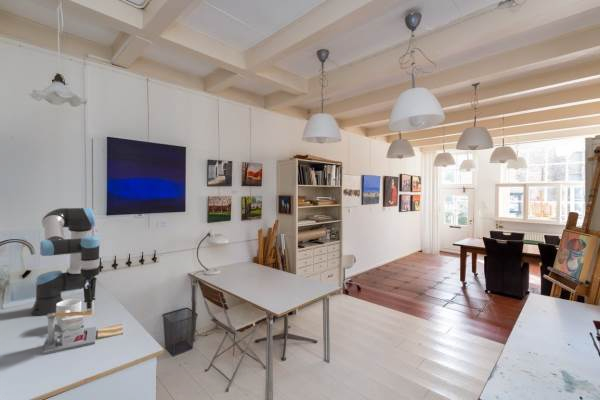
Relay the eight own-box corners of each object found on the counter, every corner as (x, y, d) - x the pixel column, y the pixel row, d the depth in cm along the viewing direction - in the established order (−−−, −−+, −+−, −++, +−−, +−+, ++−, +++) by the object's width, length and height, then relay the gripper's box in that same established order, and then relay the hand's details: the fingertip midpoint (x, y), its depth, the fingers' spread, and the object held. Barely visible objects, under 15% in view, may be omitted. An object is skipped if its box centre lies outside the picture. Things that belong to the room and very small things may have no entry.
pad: (97, 330, 153) (97, 328, 153) (121, 325, 160) (121, 324, 160) (97, 339, 144) (97, 337, 144) (122, 334, 151) (122, 332, 151)
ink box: (81, 335, 147) (81, 313, 147) (83, 339, 144) (84, 316, 144) (59, 342, 140) (60, 318, 140) (62, 345, 137) (62, 321, 137)
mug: (79, 330, 152) (79, 306, 152) (52, 335, 146) (53, 310, 146) (81, 319, 164) (82, 297, 164) (57, 323, 158) (57, 300, 158)
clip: (49, 315, 138) (49, 312, 138) (93, 312, 143) (93, 310, 143) (45, 318, 135) (45, 315, 135) (90, 315, 140) (90, 312, 140)
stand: (49, 337, 144) (50, 310, 144) (95, 328, 155) (96, 303, 155) (43, 354, 129) (44, 325, 129) (94, 343, 140) (95, 316, 140)
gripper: (85, 264, 146) (84, 309, 147) (76, 271, 134) (76, 320, 135) (102, 263, 149) (102, 307, 150) (95, 270, 137) (94, 318, 138)
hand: (89, 313), depth 143 cm, fingers closed
